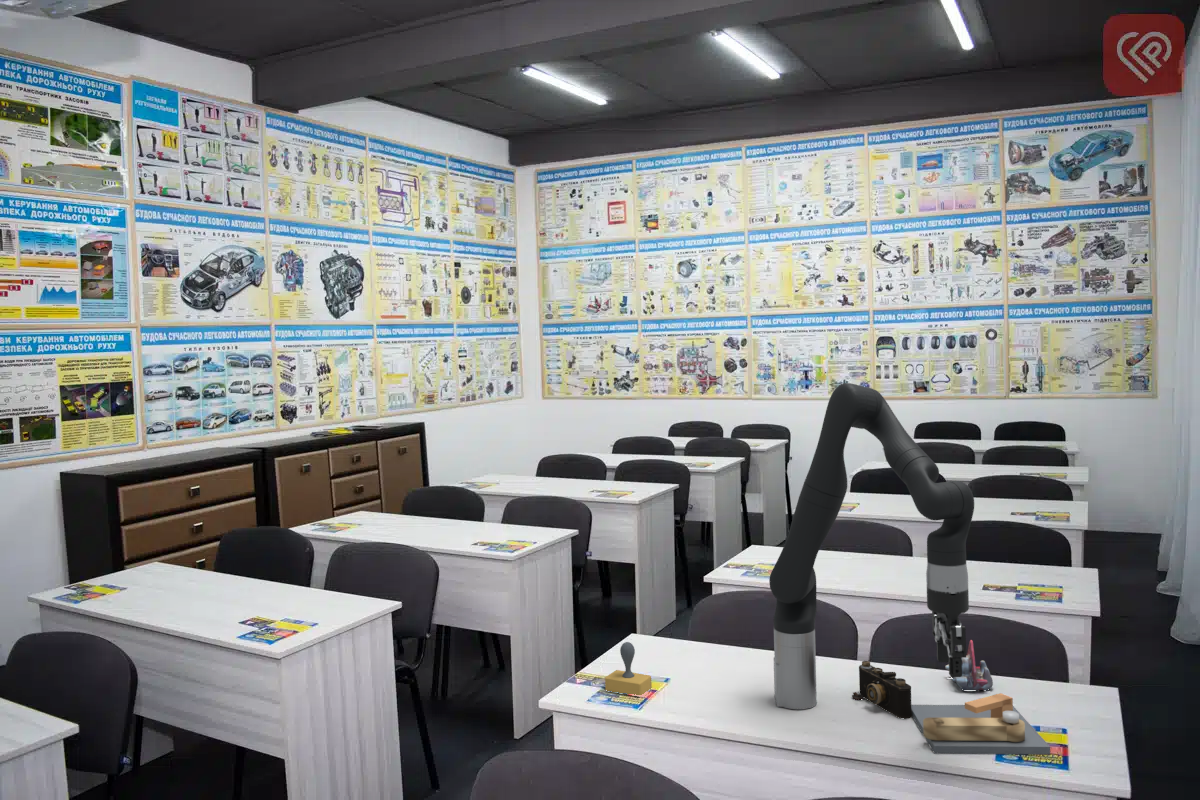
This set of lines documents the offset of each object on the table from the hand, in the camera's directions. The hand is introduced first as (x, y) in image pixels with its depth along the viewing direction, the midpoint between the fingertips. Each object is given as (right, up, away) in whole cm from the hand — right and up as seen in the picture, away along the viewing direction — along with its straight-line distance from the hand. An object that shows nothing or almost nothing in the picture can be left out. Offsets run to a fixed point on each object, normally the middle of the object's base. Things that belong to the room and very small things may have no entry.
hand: (949, 668), depth 175 cm
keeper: (+13, -16, +13) cm, 24 cm away
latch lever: (+8, -16, +7) cm, 19 cm away
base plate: (+11, -17, +14) cm, 24 cm away
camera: (-4, -17, +29) cm, 34 cm away
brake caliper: (+20, -16, +39) cm, 46 cm away
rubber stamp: (-61, -19, +44) cm, 77 cm away
